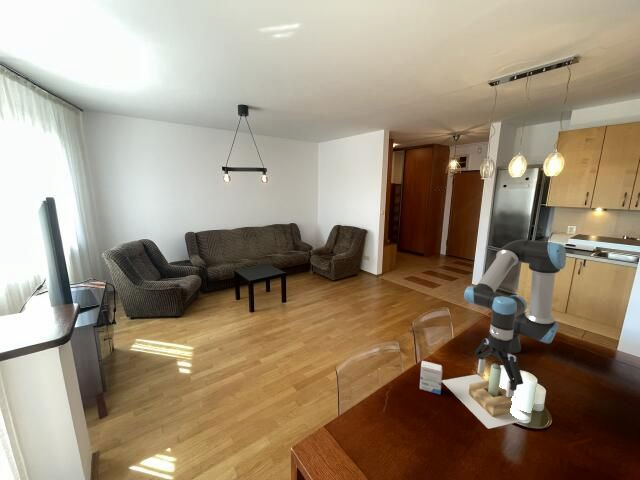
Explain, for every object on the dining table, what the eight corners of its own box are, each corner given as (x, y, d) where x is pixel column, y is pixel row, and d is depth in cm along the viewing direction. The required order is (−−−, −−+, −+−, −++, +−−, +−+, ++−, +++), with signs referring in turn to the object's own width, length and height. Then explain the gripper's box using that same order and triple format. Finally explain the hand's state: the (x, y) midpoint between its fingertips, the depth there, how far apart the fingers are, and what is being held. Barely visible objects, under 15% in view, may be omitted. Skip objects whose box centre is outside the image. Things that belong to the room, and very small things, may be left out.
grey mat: (440, 381, 121) (441, 380, 121) (477, 375, 126) (477, 374, 126) (488, 430, 96) (488, 428, 96) (531, 420, 101) (531, 418, 101)
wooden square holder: (468, 394, 113) (469, 384, 112) (491, 389, 116) (492, 379, 115) (492, 416, 101) (493, 405, 101) (517, 411, 104) (518, 400, 103)
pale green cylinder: (484, 399, 110) (489, 363, 107) (491, 398, 111) (496, 362, 108) (491, 406, 106) (496, 368, 104) (498, 404, 107) (503, 367, 105)
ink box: (440, 388, 117) (442, 364, 115) (440, 396, 113) (442, 371, 111) (420, 382, 121) (421, 359, 119) (419, 389, 116) (421, 366, 114)
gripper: (468, 322, 115) (463, 365, 118) (523, 355, 91) (515, 409, 94) (482, 320, 116) (477, 363, 120) (540, 352, 92) (532, 405, 96)
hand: (494, 383), depth 107 cm, fingers open, 13 cm apart
